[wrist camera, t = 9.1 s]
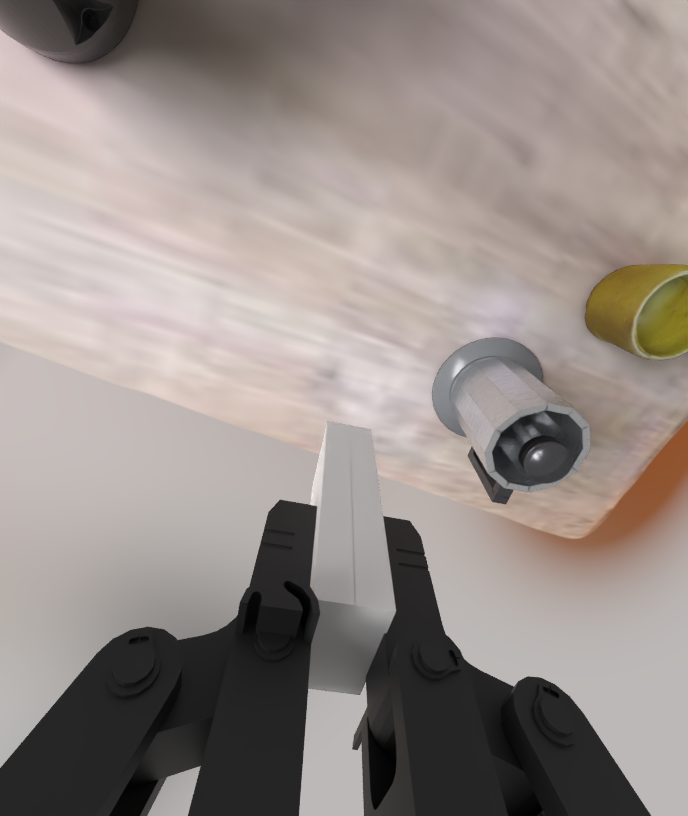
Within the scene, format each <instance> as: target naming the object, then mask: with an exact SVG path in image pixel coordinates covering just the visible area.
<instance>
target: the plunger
mask: <svg viewBox="0 0 688 816" xmlns="http://www.w3.org/2000/svg"><path fill="white" fill-rule="evenodd" d="M510 426H511V427H512V428H513V429H514V430H515V432H516V433H517V434H518V435H519V437H520V438H521V439H522V440H523V441H524V443H525V444H524V445H523V446H522V448H521V449H520V452H519V456H518V458H519V462H520V464H521V466H522V467H523V468H524V470H525V471H526V472H527V474H528V475H529V476H530V478H531V479H532V480H534V481H535V482H538V483H542V484H548V483H553V482H556V481H558V480H560V479H562V478H563V477H565V476H566V475H567V474H568V473H569V471H570V470H571V468H572V465H573V457H572V455H571V453H570V452H569V451H568V450H567V449H566V448H565V447H564V446H563V445H562V444H561V443H560V442H559V441H558V440H557V439H556V438H554V437H552V436H548V435H542V436H537V437H534V438H532V436H531V435H530V434H529V433H528V432H527V431H526V430H525V429H524V427H523V426H522V425H521V424H520V423H519V422H518V421H517V420H516V421H515V422H514V423H512V424H511V425H510Z"/></svg>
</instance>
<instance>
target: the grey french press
mask: <svg viewBox="0 0 688 816" xmlns="http://www.w3.org/2000/svg"><path fill="white" fill-rule="evenodd" d="M449 399H450V404H451V407H452V409H453V413H454V415H455V417H456V419H457V421H458V422H459V424H460V426H461V428H462V429H463V431H464V433H465V435H466V436H467V438H468V440H469V441H470V443H471V445H472V447H471V449H470V452H469V454H468V457H469V459H470V461H471V463H472V465H473V467H474V469H475V470H476V472H477V474H478V476H479V478H480V480H481V482H482V484H483V485H484V487H485V489H486V491H487V493H488V495H489V497H490V499H491V500H492V502H496V503H502V504H506V503H507V501H508V499H509V498H510V496H511V494H512V492H513V490H517V491H523V492H533V491H537V490H541V489H545V488H549V487H554V486H556V485H557V484H559V483H560V482H562V481H563V480H564V479H566V478H567V477H569V476H570V475H572V474H573V473H575V472H576V471H577V470H578V469H579V467H580V465H581V464H582V462H583V460H584V459H585V457H586V455H587V454H588V452H589V450H590V448H591V445H590V425H589V424H588V423H587V422H586V421H585V420H584V419H583V418H582V416H581V415H580V414H579V413H578V412H577V411H576V410H575V409H574V408H573V407H572V406H570V405H569V404H568V403H567V402H565V401H564V400H563V399H562V398H561V397H559V396H558V395H557V394H556V393H554V392H553V391H552V390H551V389H549V388H548V387H547V386H546V385H544V384H543V383H542V382H541V381H539V380H538V379H537V378H536V377H534V376H533V375H532V374H531V373H529V372H528V371H527V370H526V369H524V368H523V367H522V366H521V365H520V364H518V363H517V362H516V361H512V360H511V359H509V358H506V357H503V356H486V357H481V358H478V359H476V360H474V361H472V362H470V363H469V364H467V365H466V366H465V367H463V368H462V369H461V370H460V371H459V373H458V374H457V375H456V377H455V378H454V380H453V382H452V384H451V388H450V393H449ZM516 420H517V421H518V422H519V423H520V424H521V425H522V426H523V427H524V429H525V430H526V431H527V432H528V433H529V434H530V435H531V436H532V438H534V437H537V436H542V435H548V436H552V437H554V438H556V439H557V440H558V441H559V442H560V443H561V444H562V445H563V446H564V447H565V448H566V449H567V450H568V451H569V452H570V453H571V455H572V457H573V465H572V468H571V470H570V471H569V473H568V474H567V475H566V476H565V477H563V478H562V479H560V480H558V481H556V482H553V483H548V484H542V483H538V482H535V481H534V480H532V479H531V478H530V476H529V475H528V474H527V472H526V471H525V470H524V468H523V467H522V466H521V464H520V462H519V458H518V456H519V452H520V449H521V448H522V446H523V445H524V444H525V443H524V441H523V440H522V439H521V438H520V437H519V435H518V434H517V433H516V432H515V430H514V429H513V428H512V427H511V426H510V425H511V424H512V423H514V422H515V421H516Z"/></svg>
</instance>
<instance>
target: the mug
mask: <svg viewBox="0 0 688 816" xmlns="http://www.w3.org/2000/svg"><path fill="white" fill-rule="evenodd" d="M585 320H586V324H587V327H588V329H589V330H590V331H591V333H592V334H593V335H595V336H596V337H598V338H599V339H601V340H603V341H606V342H609V343H612V344H615V345H617V346H619V347H620V348H622V349H624V350H626V351H628V352H630V353H632V354H634V355H636V356H639V357H642V358H645V359H649V360H666V359H671V358H675V357H678V356H680V355H682V354H684V353H685V352H687V351H688V265H675V264H672V265H632V266H627V267H624V268H621V269H618V270H616V271H614V272H612V273H611V274H609V275H608V276H606V277H605V278H604V279H603V280H602V281H601V282H600V283H599V284H597V286H596V287H595V288H594V289H593V291H592V292H591V295H590V297H589V299H588V301H587V304H586V314H585Z"/></svg>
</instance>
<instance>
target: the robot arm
mask: <svg viewBox="0 0 688 816" xmlns="http://www.w3.org/2000/svg"><path fill="white" fill-rule="evenodd" d="M137 2H138V0H0V30H2V31H3V32H4V33H6V34H7V35H8V36H10V37H11V38H13V39H14V40H16V41H18V42H19V43H21V44H23V45H25V46H26V47H28V48H30V49H32V50H34V51H35V52H37V53H39V54H41V55H43V56H46V57H48V58H51V59H54V60H57V61H62V62H68V63H82V62H88V61H92V60H95V59H97V58H100V57H102V56H104V55H105V54H107V53H108V52H110V51H111V50H112V49H113V48H114V47H115V46H116V45H117V44H118V43H119V42H120V41H121V39H122V38H123V37H124V35H125V34H126V32H127V30H128V28H129V26H130V24H131V22H132V19H133V16H134V14H135V10H136V6H137ZM424 554H425V552H424V548H423V544H422V540H421V537H420V535H419V533H418V532H417V531H416V529H415V528H414V526H413V525H412V524H411V522H410V521H408V520H402V519H396V518H390V517H385V516H383V512H382V504H381V497H380V489H379V482H378V474H377V467H376V460H375V452H374V445H373V438H372V430H371V429H367V428H362V427H356V426H351V425H346V424H341V423H336V422H331V421H327V425H326V430H325V434H324V438H323V443H322V447H321V451H320V456H319V460H318V464H317V469H316V473H315V477H314V482H313V487H312V495H311V504H310V505H308V504H302V503H296V502H290V501H284V500H279V502H278V503H277V504H276V505H275V506H274V507H273V508H272V509H271V510H270V511H269V513H268V516H267V521H266V524H265V529H264V532H263V536H262V540H261V544H260V548H259V551H258V555H257V559H256V563H255V567H254V571H253V575H252V579H251V583H250V587H249V588H247V589H246V591H245V593H244V595H243V597H242V599H241V601H240V606H239V611H238V615H237V617H236V618H235V619H234V620H232V621H231V622H230V623H229V624H228V625H227V626H225V627H223V628H222V629H220V630H218V631H216V632H213V633H210V634H206V635H203V636H198V637H193V638H187V639H182V640H177V639H176V638H175V637H174V636H173V635H171V634H170V633H168V632H167V631H165V630H164V629H158V628H152V627H145V628H139V629H134V630H130V631H128V632H126V633H124V634H122V635H120V636H118V637H116V638H114V639H112V640H111V641H110V642H109V643H108V644H107V645H106V646H105V647H103V648H102V649H101V650H100V651H99V652H98V653H97V654H96V655H95V656H94V658H93V659H92V660H91V661H90V662H89V663H88V665H87V666H86V667H85V668H84V669H83V671H82V672H81V673H80V674H79V675H78V677H77V678H76V679H75V680H74V681H73V682H72V684H71V685H70V686H69V687H68V688H67V690H66V691H65V692H64V693H63V694H62V696H61V697H60V698H59V699H58V700H57V702H56V703H55V704H54V705H53V706H52V707H51V709H50V710H49V711H48V713H46V715H45V716H44V717H43V718H42V719H41V720H40V722H39V723H38V724H37V725H36V726H35V728H34V729H33V730H32V731H31V732H30V734H29V735H28V736H27V737H26V738H25V740H24V741H23V742H22V743H21V744H20V745H19V747H18V748H17V749H16V750H15V751H14V753H13V754H12V755H11V756H10V757H9V758H8V760H7V761H6V762H5V763H4V765H3V766H2V767H1V768H0V816H147V815H148V813H149V811H150V809H151V807H152V805H153V803H154V801H155V799H156V797H157V795H158V793H159V791H160V789H161V787H162V786H163V784H164V782H165V780H166V778H167V777H168V776H171V775H174V774H177V773H180V772H183V771H186V770H189V769H192V768H195V767H199V766H201V767H200V771H199V775H198V779H197V783H196V787H195V791H194V794H193V798H192V802H191V806H190V810H189V814H188V816H299V806H300V792H301V778H302V764H303V750H304V736H305V723H306V710H307V694H308V689H316V690H324V691H333V692H340V693H348V694H356V695H360V694H361V692H362V689H363V687H364V685H365V682H366V689H367V709H366V711H365V713H364V715H363V717H362V720H361V722H360V724H359V726H358V728H357V731H356V733H355V735H354V741H353V748H352V749H354V750H358V748H359V746H360V744H361V742H362V765H363V766H362V768H363V795H364V796H363V798H364V816H651V815H650V813H649V812H648V811H647V809H646V808H645V806H644V804H643V803H642V801H641V800H640V798H639V797H638V795H637V794H636V793H635V791H634V789H633V788H632V786H631V785H630V783H629V782H628V780H627V779H626V777H625V776H624V774H623V773H622V771H621V770H620V768H619V767H618V765H617V764H616V762H615V761H614V759H613V758H612V756H611V755H610V753H609V751H608V750H607V748H606V747H605V746H604V744H603V742H602V741H601V739H600V738H599V736H598V735H597V733H596V732H595V730H594V729H593V727H592V726H591V724H590V723H589V721H588V720H587V718H586V717H585V715H584V714H583V712H582V711H581V710H580V709H579V708H578V706H577V705H576V704H575V702H574V701H573V700H572V699H571V698H570V696H568V695H567V694H566V693H565V692H563V691H562V690H561V689H560V688H559V687H557V686H556V685H555V684H553V683H551V682H548V681H546V680H544V679H542V678H539V677H526V678H524V679H522V680H520V681H518V683H517V684H516V685H515V686H514V687H513V686H511V685H509V684H507V683H505V682H503V681H501V680H499V679H497V678H495V677H493V676H490V675H489V674H487V673H484V672H482V671H480V670H479V669H477V668H475V667H474V666H472V665H471V664H469V663H468V662H467V661H466V660H464V658H463V656H462V654H461V652H460V650H459V649H458V647H457V646H456V645H455V644H454V642H453V641H452V640H451V639H450V638H449V637H448V636H447V635H446V634H445V631H444V629H443V625H442V621H441V617H440V613H439V609H438V605H437V601H436V597H435V593H434V589H433V585H432V581H431V577H430V573H429V571H428V565H427V561H426V557H425V556H424Z"/></svg>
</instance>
